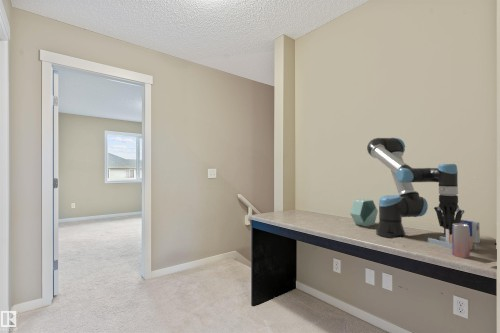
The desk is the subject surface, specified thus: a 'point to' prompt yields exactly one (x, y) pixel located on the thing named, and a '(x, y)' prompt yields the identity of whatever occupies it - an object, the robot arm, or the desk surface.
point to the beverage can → (461, 240)
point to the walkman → (473, 230)
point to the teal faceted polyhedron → (364, 212)
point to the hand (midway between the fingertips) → (449, 242)
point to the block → (470, 241)
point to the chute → (444, 242)
